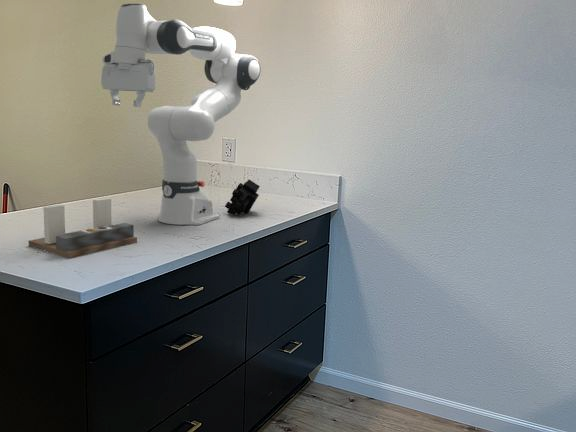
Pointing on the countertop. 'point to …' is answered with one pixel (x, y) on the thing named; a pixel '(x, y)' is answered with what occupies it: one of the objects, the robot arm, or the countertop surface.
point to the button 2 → (101, 212)
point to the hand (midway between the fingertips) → (126, 106)
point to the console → (88, 240)
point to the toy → (243, 198)
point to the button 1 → (53, 222)
